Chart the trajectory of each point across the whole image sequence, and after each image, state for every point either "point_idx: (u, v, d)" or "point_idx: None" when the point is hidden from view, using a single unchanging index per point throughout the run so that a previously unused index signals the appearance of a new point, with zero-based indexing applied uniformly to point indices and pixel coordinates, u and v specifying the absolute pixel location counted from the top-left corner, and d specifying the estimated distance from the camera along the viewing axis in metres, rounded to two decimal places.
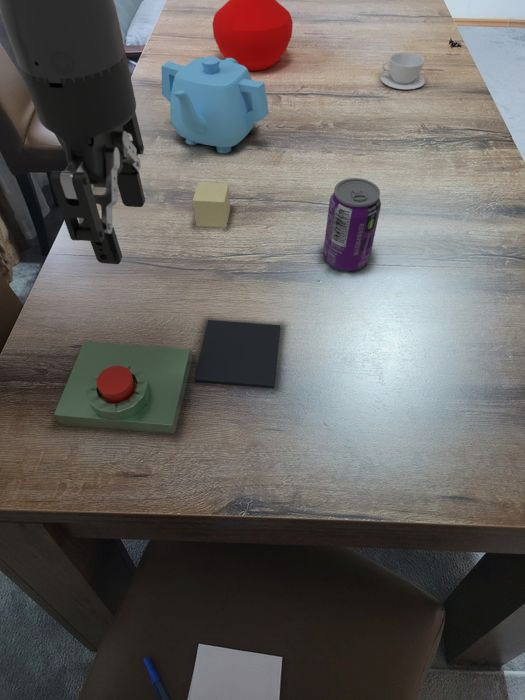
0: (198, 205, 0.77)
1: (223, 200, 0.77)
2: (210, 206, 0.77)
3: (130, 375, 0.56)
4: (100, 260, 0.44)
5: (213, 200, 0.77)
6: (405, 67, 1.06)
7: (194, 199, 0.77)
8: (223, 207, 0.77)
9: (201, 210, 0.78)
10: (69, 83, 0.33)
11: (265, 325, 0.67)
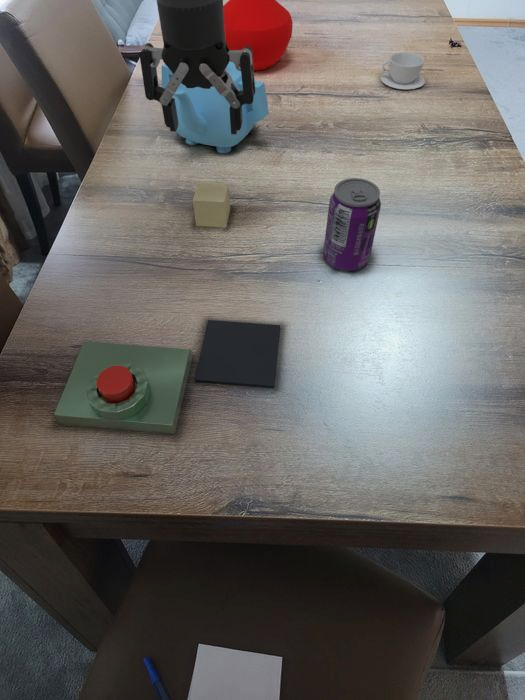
0: (198, 205, 0.77)
1: (223, 200, 0.77)
2: (210, 206, 0.77)
3: (130, 375, 0.56)
4: (240, 127, 0.67)
5: (213, 200, 0.77)
6: (405, 67, 1.06)
7: (194, 199, 0.77)
8: (223, 207, 0.77)
9: (201, 210, 0.78)
10: None
11: (265, 325, 0.67)
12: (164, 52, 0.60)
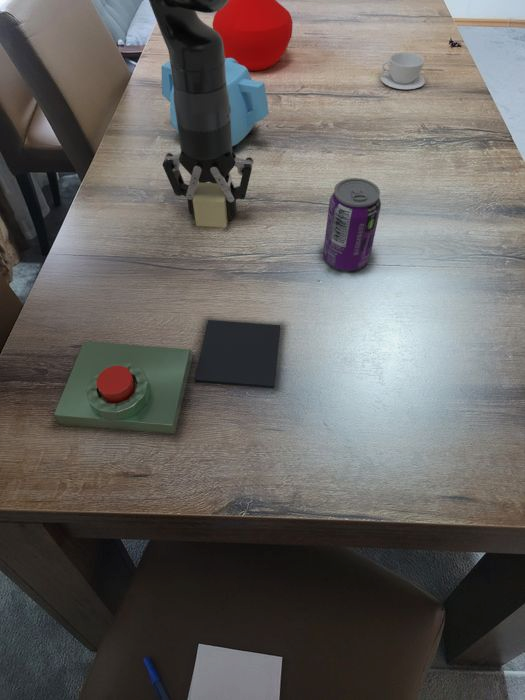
0: (198, 205, 0.77)
1: (223, 200, 0.77)
2: (210, 206, 0.77)
3: (130, 375, 0.56)
4: None
5: (213, 200, 0.77)
6: (405, 67, 1.06)
7: (194, 199, 0.77)
8: (223, 207, 0.77)
9: (201, 210, 0.78)
10: None
11: (265, 325, 0.67)
12: (181, 157, 0.73)
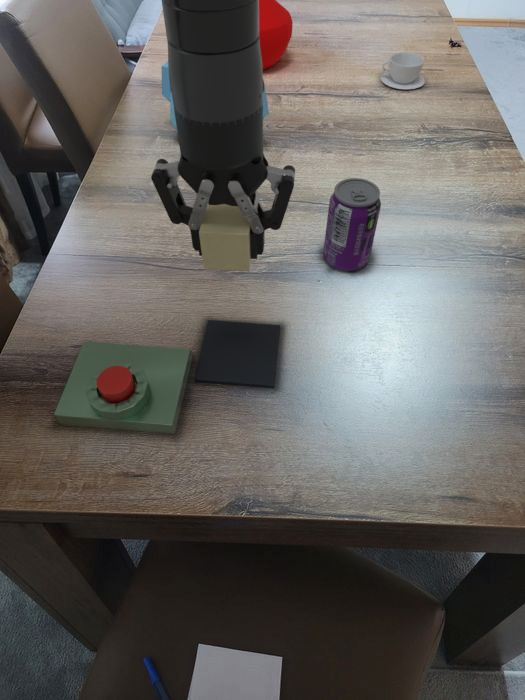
0: (207, 239, 0.50)
1: (246, 232, 0.49)
2: (226, 241, 0.50)
3: (130, 375, 0.56)
4: (262, 250, 0.53)
5: (231, 232, 0.49)
6: (405, 67, 1.06)
7: (201, 230, 0.49)
8: (246, 242, 0.50)
9: (212, 247, 0.51)
10: None
11: (265, 325, 0.67)
12: (181, 165, 0.45)
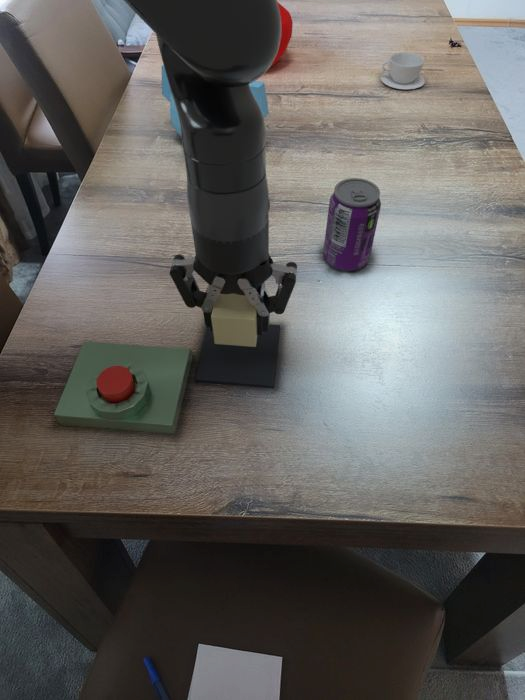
0: (218, 322, 0.56)
1: (253, 316, 0.55)
2: (235, 323, 0.56)
3: (130, 375, 0.56)
4: None
5: (240, 316, 0.55)
6: (405, 67, 1.06)
7: (213, 314, 0.55)
8: (253, 325, 0.56)
9: (223, 328, 0.57)
10: None
11: None
12: (196, 264, 0.51)
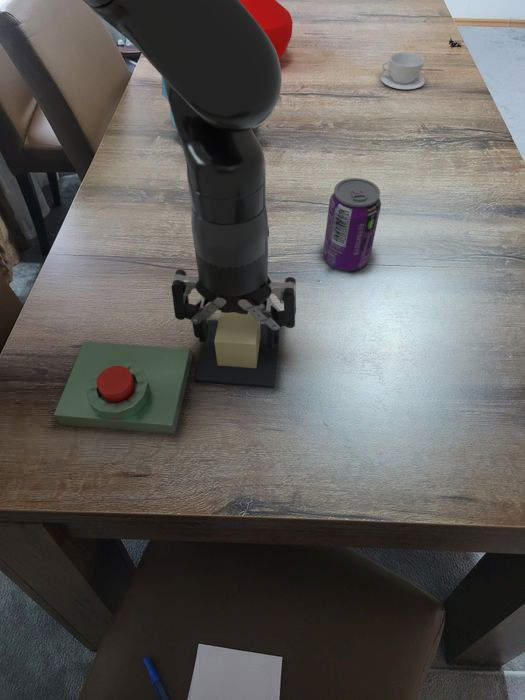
0: (221, 346, 0.59)
1: (254, 341, 0.59)
2: (237, 347, 0.59)
3: (130, 375, 0.56)
4: None
5: (241, 341, 0.59)
6: (405, 67, 1.06)
7: (216, 339, 0.59)
8: (254, 349, 0.59)
9: (225, 351, 0.60)
10: None
11: (265, 325, 0.67)
12: (199, 285, 0.54)
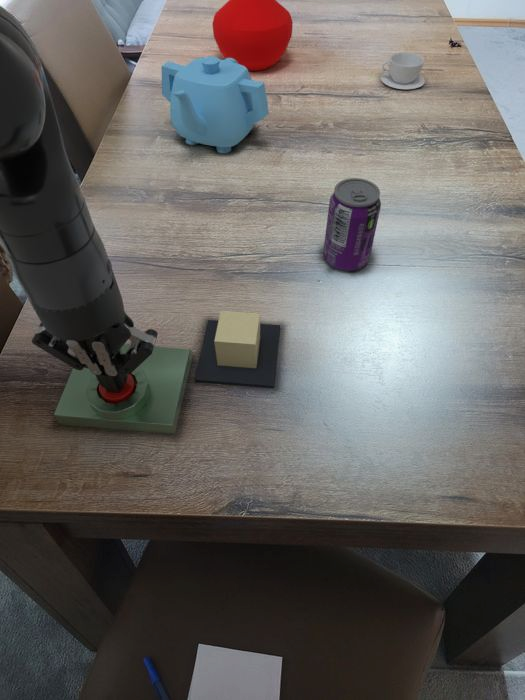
0: (221, 346, 0.59)
1: (254, 341, 0.59)
2: (237, 347, 0.59)
3: (132, 380, 0.57)
4: (124, 385, 0.55)
5: (241, 341, 0.59)
6: (405, 67, 1.06)
7: (216, 339, 0.59)
8: (254, 349, 0.59)
9: (225, 351, 0.60)
10: (113, 276, 0.44)
11: (265, 325, 0.67)
12: None
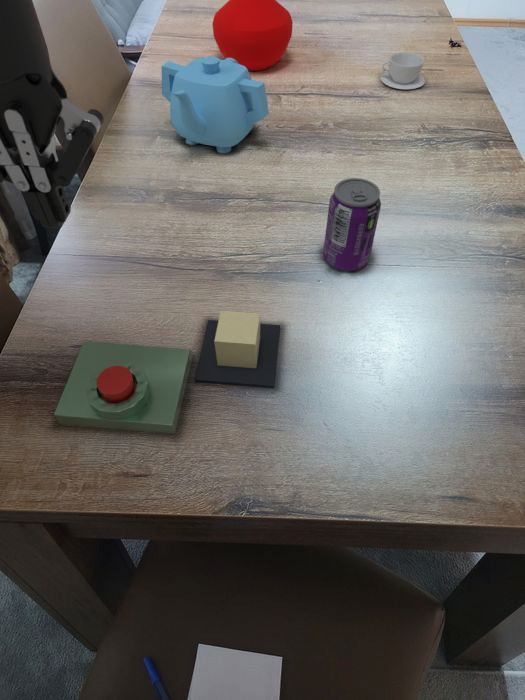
0: (221, 346, 0.59)
1: (254, 341, 0.59)
2: (237, 347, 0.59)
3: (130, 375, 0.56)
4: (66, 217, 0.41)
5: (241, 341, 0.59)
6: (405, 67, 1.06)
7: (216, 339, 0.59)
8: (254, 349, 0.59)
9: (225, 351, 0.60)
10: None
11: (265, 325, 0.67)
12: None
